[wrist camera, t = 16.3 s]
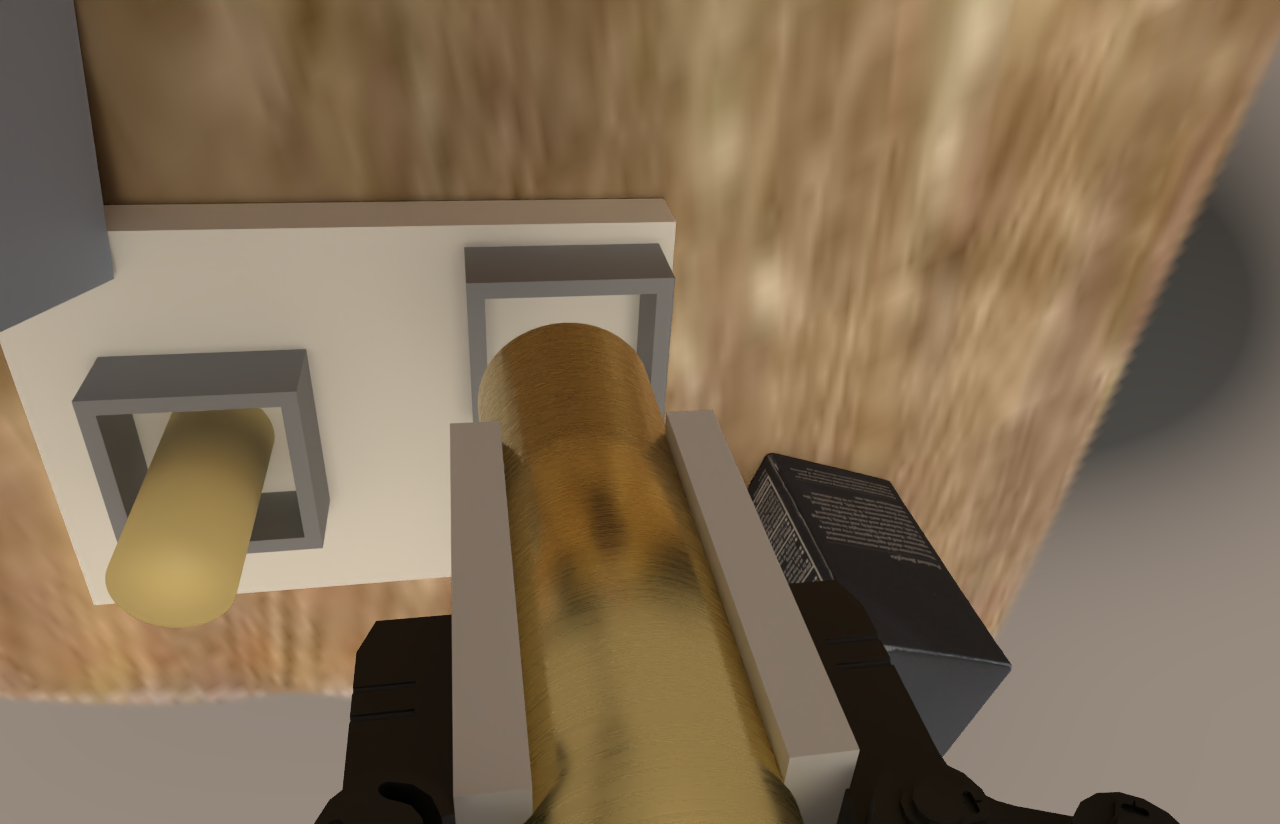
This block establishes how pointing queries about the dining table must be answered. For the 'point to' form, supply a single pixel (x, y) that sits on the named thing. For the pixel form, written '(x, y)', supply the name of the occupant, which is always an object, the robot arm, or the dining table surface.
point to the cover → (46, 164)
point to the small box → (884, 583)
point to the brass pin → (618, 601)
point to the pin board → (305, 380)
